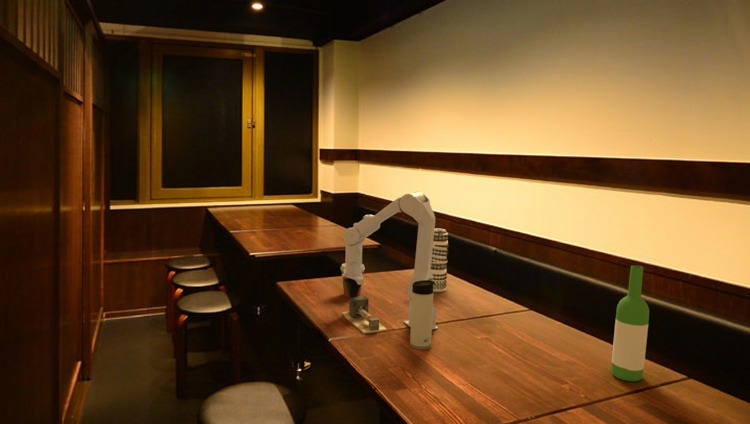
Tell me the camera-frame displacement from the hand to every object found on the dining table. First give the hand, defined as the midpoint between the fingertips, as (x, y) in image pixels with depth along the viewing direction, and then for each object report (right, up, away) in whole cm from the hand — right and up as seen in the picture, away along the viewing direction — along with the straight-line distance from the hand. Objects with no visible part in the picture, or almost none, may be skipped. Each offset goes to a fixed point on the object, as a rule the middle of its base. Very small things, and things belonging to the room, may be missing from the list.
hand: (352, 299), depth 186 cm
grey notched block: (+2, -6, -5) cm, 8 cm away
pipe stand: (+4, -6, -8) cm, 11 cm away
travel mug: (+22, -10, -28) cm, 36 cm away
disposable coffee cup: (-1, -2, +22) cm, 22 cm away
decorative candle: (+33, -1, +33) cm, 47 cm away
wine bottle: (+75, -13, -45) cm, 88 cm away
